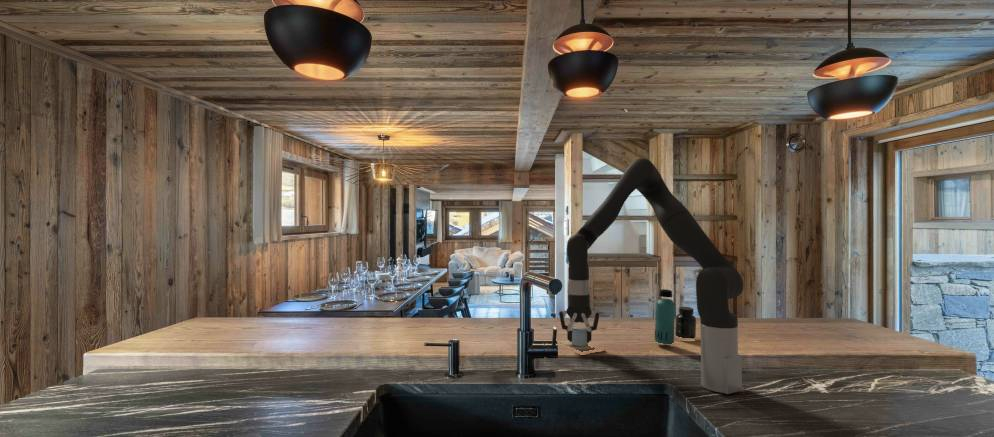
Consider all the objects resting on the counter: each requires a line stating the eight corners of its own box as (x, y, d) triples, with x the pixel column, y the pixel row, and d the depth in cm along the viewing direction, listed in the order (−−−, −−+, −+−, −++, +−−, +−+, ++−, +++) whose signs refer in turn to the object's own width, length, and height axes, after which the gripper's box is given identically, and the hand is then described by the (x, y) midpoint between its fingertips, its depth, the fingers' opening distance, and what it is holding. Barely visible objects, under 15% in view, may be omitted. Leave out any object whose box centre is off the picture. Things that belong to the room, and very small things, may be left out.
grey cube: (578, 341, 156) (578, 326, 156) (590, 344, 152) (590, 329, 152) (568, 344, 152) (568, 328, 152) (580, 347, 148) (580, 331, 148)
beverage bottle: (671, 343, 157) (672, 288, 156) (676, 350, 151) (678, 292, 149) (652, 342, 158) (653, 287, 157) (656, 349, 151) (658, 291, 150)
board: (605, 351, 149) (605, 336, 149) (581, 356, 144) (581, 340, 144) (582, 343, 159) (582, 329, 159) (560, 347, 155) (559, 332, 155)
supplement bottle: (671, 338, 164) (672, 306, 163) (686, 336, 166) (687, 305, 166) (683, 344, 158) (685, 311, 157) (699, 342, 160) (700, 309, 159)
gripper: (599, 291, 155) (599, 339, 154) (557, 290, 157) (558, 338, 157) (601, 294, 147) (601, 345, 147) (557, 293, 149) (558, 344, 149)
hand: (579, 341), depth 152 cm, fingers closed on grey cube, 5 cm apart
